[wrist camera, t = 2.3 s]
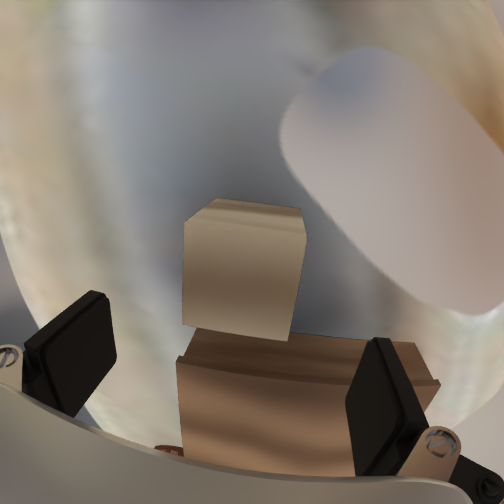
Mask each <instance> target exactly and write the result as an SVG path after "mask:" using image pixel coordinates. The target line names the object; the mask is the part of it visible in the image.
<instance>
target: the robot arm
mask: <svg viewBox="0 0 504 504" xmlns="http://www.w3.org/2000/svg"><path fill="white" fill-rule="evenodd" d="M24 346H25V349H26V350H25V351H24V352H22V351H21V349H20V348H19V347H17V346H15V345H2V346H0V504H504V481H503V479H502V478H501V477H500V476H499V475H498V474H496V473H495V472H493V471H491V470H489V469H487V468H485V467H483V466H481V465H479V464H477V463H475V462H473V461H471V460H470V459H468V458H466V457H464V456H462V455H460V452H461V442H460V440H459V438H458V436H457V435H456V434H455V433H454V432H453V431H451V430H450V429H448V428H445V427H442V426H433V427H429V425H428V422H427V420H426V417H425V415H424V412H423V410H422V407H421V405H420V403H419V400H418V398H417V395H416V393H415V391H414V389H413V386H412V384H411V382H410V379H409V378H408V376H407V374H406V372H405V369H404V367H403V365H402V363H401V361H400V359H399V356H398V354H397V352H396V350H395V348H394V346H393V344H392V342H391V340H390V339H389V338H379V337H374V338H373V339H372V341H368V342H367V343H366V346H365V349H364V352H363V354H362V357H361V360H360V362H359V365H358V368H357V370H356V373H355V375H354V378H353V380H352V383H351V385H350V388H349V390H348V392H347V395H346V398H345V408H346V414H347V421H348V427H349V433H350V440H351V447H352V454H353V462H354V469H355V476H356V477H331V476H306V475H291V474H279V473H269V472H261V471H253V470H246V469H240V468H234V467H228V466H223V465H217V464H212V463H208V462H203V461H198V460H194V459H190V458H186V457H182V456H178V455H174V454H171V453H167V452H163V451H160V450H157V449H153V448H150V447H147V446H144V445H141V444H138V443H135V442H132V441H129V440H126V439H123V438H120V437H118V436H115V435H112V434H110V433H107V432H105V431H102V430H100V429H97V428H94V427H92V426H90V425H88V424H85V423H83V422H81V421H78V420H76V419H74V417H75V416H76V414H77V413H78V412H79V410H80V409H81V408H82V406H83V405H84V404H85V402H86V401H87V400H88V398H89V397H90V396H91V394H92V393H93V392H94V390H95V389H96V388H97V386H98V385H99V384H100V382H101V381H102V380H103V378H104V377H105V376H106V374H107V373H108V372H109V371H110V369H111V368H112V367H113V365H114V364H115V362H116V359H117V353H116V347H115V341H114V334H113V326H112V318H111V310H110V302H109V299H108V298H106V295H105V294H104V293H101V292H97V291H93V290H90V291H89V292H87V293H86V294H85V295H83V296H82V297H81V298H79V299H78V300H77V301H75V302H74V303H73V304H72V305H70V306H69V307H68V308H67V309H65V310H64V311H63V312H61V313H60V314H59V315H58V316H56V317H55V318H54V319H53V320H51V321H50V322H49V323H48V324H47V325H45V326H44V327H43V328H42V329H40V330H39V331H38V332H37V333H36V334H34V335H33V336H32V337H31V338H30V339H28V340H27V341H26V342H25V343H24Z"/></svg>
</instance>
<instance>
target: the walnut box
mask: <svg viewBox="0 0 504 504" xmlns="http://www.w3.org/2000/svg"><path fill="white" fill-rule="evenodd" d="M368 341H372V340H359V339H347V338H336V337H326V336H317V335H308V334H299V333H291V332H289V336H288V341H280V340H273V339H266V338H258V337H252V336H245V335H239V334H232V333H226V332H220V331H214V330H209V329H203V328H198V327H197V329H196V331H195V333H194V335H193V337H192V339H191V341H190V343H189V346H188V348H187V350H186V352H185V354H184V356H179V357H178V359H177V361H176V372H177V388H178V401H179V413H180V424H181V433H182V443H183V451H184V457H186V458H190V459H194V460H198V461H203V462H208V463H212V464H217V465H223V466H228V467H234V468H240V469H246V470H253V471H261V472H269V473H279V474H291V475H306V476H331V477H356V476H355V469H354V462H353V454H352V447H351V440H350V433H349V427H348V421H347V414H346V408H345V398H346V395H347V392H348V390H349V388H350V385H351V383H352V380H353V378H354V375H355V373H356V370H357V368H358V365H359V362H360V360H361V357H362V354H363V352H364V349H365V346H366V343H367V342H368ZM392 344H393V346H394V348H395V350H396V352H397V354H398V356H399V359H400V361H401V363H402V365H403V367H404V369H405V372H406V374H407V376H408V378H409V379H410V382H411V384H412V386H413V389H414V391H415V393H416V395H417V398H418V400H419V403H420V405H421V407H422V410H423V412H425V410H426V409H427V407H428V406H429V404H430V403H431V401H432V399H433V398H434V396H435V395H436V393H437V391H438V390H439V388H440V386H441V384H440V382H439V380H438V379H437V380H433V378H432V376H431V374H430V372H429V370H428V368H427V366H426V364H425V362H424V360H423V358H422V356H421V354H420V352H419V351H418V349H417V347H416V345H415V343H404V342H392Z"/></svg>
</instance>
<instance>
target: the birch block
mask: <svg viewBox="0 0 504 504" xmlns="http://www.w3.org/2000/svg"><path fill="white" fill-rule="evenodd" d="M306 243H307V236H306V231H305V227H304V222H303V218H302V214H301V210H300V209H298V208H291V207H284V206H277V205H270V204H262V203H254V202H246V201H238V200H230V199H221V198H215V199H214V200H213V201H211V202H210V203H209V204H207V205H206V206H205V207H203V208H202V209H201V210H200V211H198V212H197V213H196V214H194V215H193V216H192V217H191V218H189V219H188V220H187V221H185V222H184V242H183V289H182V320H183V325H187V326H192V327H198V328H203V329H209V330H214V331H220V332H226V333H232V334H239V335H245V336H252V337H258V338H266V339H273V340H280V341H288V336H289V331H290V327H291V322H292V317H293V312H294V307H295V302H296V297H297V292H298V287H299V282H300V276H301V271H302V266H303V260H304V254H305V249H306Z"/></svg>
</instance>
